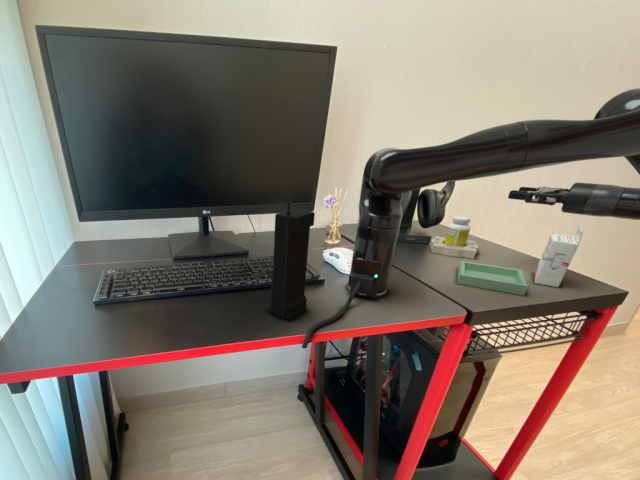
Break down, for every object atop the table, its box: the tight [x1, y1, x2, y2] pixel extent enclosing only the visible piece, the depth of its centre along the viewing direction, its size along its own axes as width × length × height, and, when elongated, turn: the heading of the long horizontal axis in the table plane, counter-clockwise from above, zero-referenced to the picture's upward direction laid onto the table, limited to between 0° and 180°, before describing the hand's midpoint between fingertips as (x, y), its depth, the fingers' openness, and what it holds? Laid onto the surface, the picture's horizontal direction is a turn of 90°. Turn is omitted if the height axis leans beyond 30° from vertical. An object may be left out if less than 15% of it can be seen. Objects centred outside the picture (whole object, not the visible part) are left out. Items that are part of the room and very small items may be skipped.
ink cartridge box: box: [533, 224, 584, 288], centre depth 84 cm, size 9×5×15 cm, turn 143°
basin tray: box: [457, 260, 529, 296], centre depth 86 cm, size 12×14×2 cm
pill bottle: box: [444, 215, 471, 247], centre depth 107 cm, size 6×6×11 cm
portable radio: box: [268, 201, 316, 321], centre depth 69 cm, size 8×6×25 cm
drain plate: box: [429, 235, 479, 259], centre depth 109 cm, size 13×13×2 cm
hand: (514, 192), depth 92 cm, fingers open, 8 cm apart
